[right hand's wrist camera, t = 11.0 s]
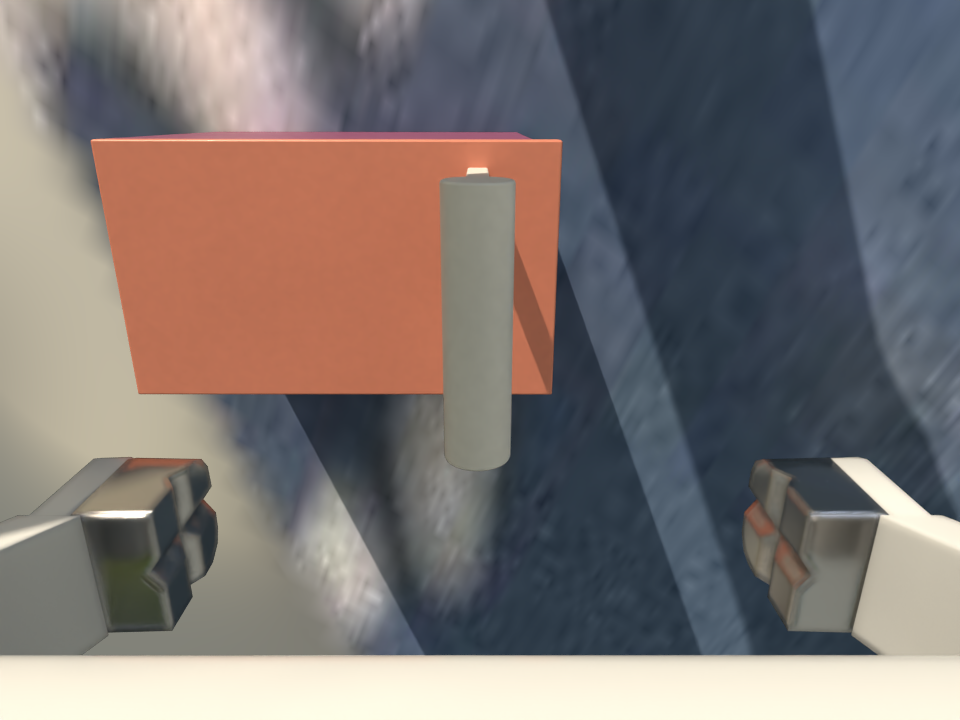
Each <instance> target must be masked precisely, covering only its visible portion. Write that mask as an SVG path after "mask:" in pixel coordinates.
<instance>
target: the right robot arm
mask: <svg viewBox="0 0 960 720" xmlns="http://www.w3.org/2000/svg"><path fill="white" fill-rule="evenodd" d="M210 488H211V481H210V476H209V471H208V466H207V465H206V464H205V463H204V462H203V460H202V459H167V458H132V457H118V458H97V459H93V460H92V461H91V462H90V463H88V464H87V465H86V466H85V467H84V468H83V469H81V470H80V471H79V472H78V473H77V474H76V475H75V476H74V477H72V478H71V479H70V480H69V481H68V482H67V483H65V484H64V485H63V486H62V487H61V488H60V489H59V490H58V491H56V492H55V493H54V494H53V495H52V496H51V497H49V498H48V499H47V500H46V501H45V502H44V503H43V504H41V505H40V506H39V507H38V508H37V509H36V510H35V511H33V512H32V513H31V514H30V515H18V516H15V517H12V518H10V519H7V520H5V521H2V522H0V720H960V522H958V521H955V520H953V519H950V518H948V517H945V516H943V515H930V514H929V513H928V512H927V511H925V510H924V509H923V508H922V507H921V506H920V505H919V504H917V503H916V502H915V501H914V500H913V499H912V498H911V497H910V496H908V495H907V494H906V493H905V492H904V491H903V490H902V489H900V488H899V487H898V486H897V485H896V484H895V483H894V482H892V481H891V480H890V479H889V478H888V477H887V476H886V475H884V474H883V473H882V472H881V471H880V470H879V469H878V468H876V467H875V466H874V465H873V464H872V463H871V462H870V461H868V460H867V459H864V458H860V457H846V458H794V459H763V460H757V461H755V463H754V466H753V468H752V470H751V474H750V480H749V488H750V489H751V491H752V493H753V494H754V496H755V497H756V501H755V502H754V503H753V504H752V505H751V506H750V507H749V508H748V509H747V510H746V511H745V512H744V518H743V527H742V539H743V549H744V553H745V556H746V559H747V562H748V565H749V566H750V568H751V570H752V572H753V573H754V575H755V576H756V577H758V578H759V579H761V580H763V581H764V582H766V583H767V584H769V590H768V596H767V597H768V599H769V600H770V602H771V604H772V605H773V607H774V609H775V610H776V612H777V614H778V615H779V617H780V618H781V620H782V622H783V623H784V625H785V627H786V628H787V630H788V631H816V632H852V636H853V637H855V638H856V639H857V640H859V641H860V642H861V643H863V644H864V645H865V646H867V647H868V648H870V649H871V650H872V651H874V652H875V653H876V654H878V655H82V654H84V653H85V652H86V651H88V650H89V649H91V648H92V647H93V646H95V645H96V644H97V643H99V642H100V641H102V640H103V639H104V638H106V637H107V636H108V632H143V631H172V630H173V628H174V627H175V625H176V623H177V622H178V620H179V619H180V617H181V615H182V614H183V612H184V610H185V609H186V607H187V605H188V604H189V602H190V600H191V599H192V591H191V584H192V583H194V582H196V581H197V580H199V579H201V578H202V577H204V576H205V575H206V573H207V572H208V570H209V568H210V566H211V565H212V563H213V560H214V556H215V552H216V548H217V543H218V525H217V517H216V512H215V511H214V510H213V509H212V508H211V507H210V506H209V505H208V504H207V503H206V502H205V501H204V500H203V499H204V497H205V496H206V494H207V493H208V491H209V489H210Z"/></svg>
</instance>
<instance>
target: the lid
mask: <svg viewBox="0 0 960 720" xmlns="http://www.w3.org/2000/svg"><path fill="white" fill-rule="evenodd" d="M91 145H92V150H93V156H94V161H95V166H96V171H97V177H98V182H99V187H100V192H101V198H102V203H103V208H104V214H105V219H106V224H107V229H108V235H109V240H110V245H111V250H112V256H113V261H114V266H115V272H116V277H117V282H118V287H119V293H120V298H121V303H122V309H123V314H124V319H125V324H126V330H127V335H128V340H129V345H130V351H131V356H132V361H133V367H134V372H135V377H136V382H137V387H138V393H139V394H443V405H444V455H445V458H446V460H447V461H448V462H449V463H450V464H451V465H453V466H454V467H457V468H460V469H463V470H468V471H486V470H492V469H495V468H498V467H500V466H502V465H504V464H505V463H506V462H507V461H508V460H509V458H510V449H511V398H512V394H552V378H553V355H554V331H555V307H556V284H557V260H558V237H559V213H560V189H561V166H562V141H561V140H558V139H93V140H91Z"/></svg>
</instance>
